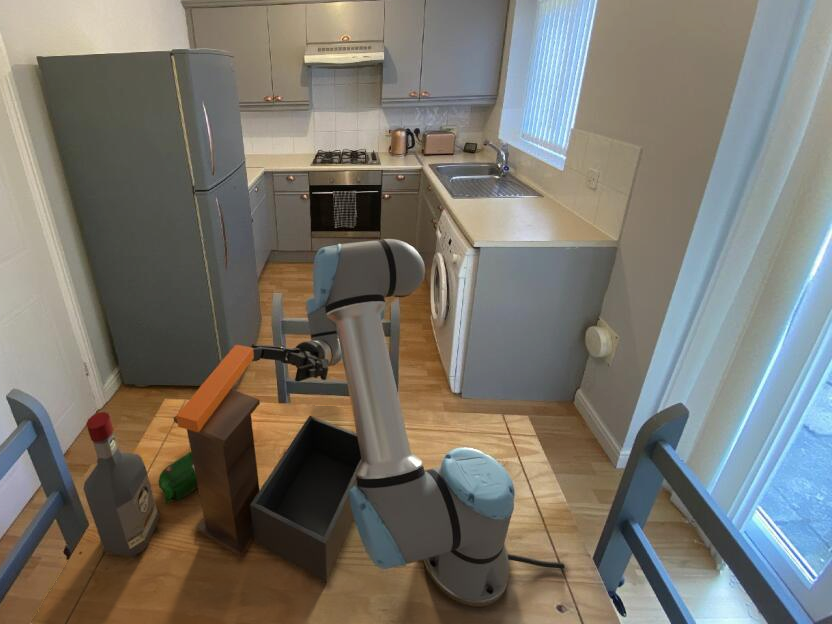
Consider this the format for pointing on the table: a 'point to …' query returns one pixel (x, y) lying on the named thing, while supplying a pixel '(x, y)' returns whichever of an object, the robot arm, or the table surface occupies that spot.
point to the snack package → (178, 478)
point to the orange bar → (214, 389)
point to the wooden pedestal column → (227, 471)
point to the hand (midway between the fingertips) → (269, 365)
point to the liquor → (119, 493)
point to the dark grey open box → (309, 498)
